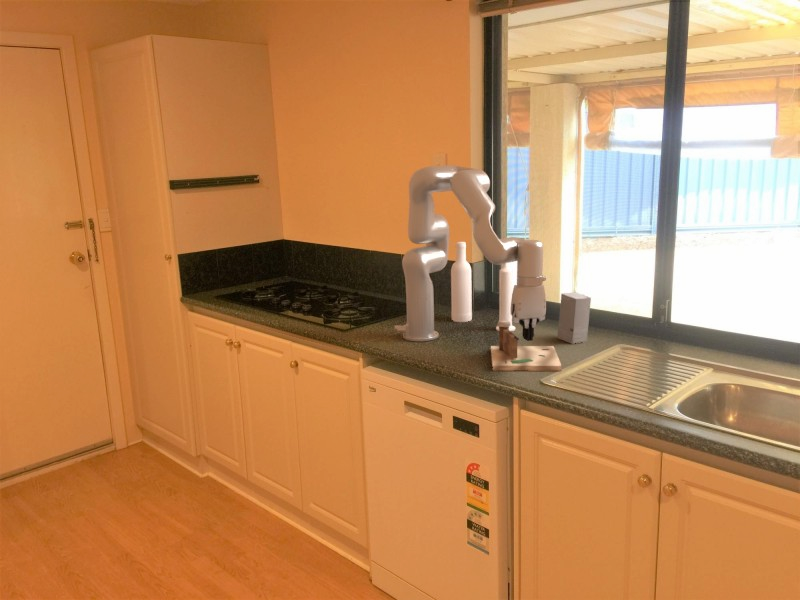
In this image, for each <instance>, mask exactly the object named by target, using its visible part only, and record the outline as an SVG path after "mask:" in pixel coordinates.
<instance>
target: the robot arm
mask: <svg viewBox="0 0 800 600" xmlns="http://www.w3.org/2000/svg"><path fill="white" fill-rule="evenodd" d="M490 187H491V180H490V178H489V176H488V174H487V173H486V172H485V171H483V170H482V169H479V168H471V167H465V166H459V165H453V164H452V165H450V164H449V165H447V164H446V165H432V166H425V167H422V168H419V169H417V170H416V171H414V172H413V174H412V175H411V177H410V179H409V181H408V198H409V204H408V205H409V207H408V222H407V223H408V224H407V234H408V238H409V240H410V241H411V243H413V244H416V245H423V246H418V247H414V248H411V249H409V250H408V251H406V252H405V254H404V255H403V257H402V261H401V265H402V270H403V274H404V281H405V294H406V295H405V296H406V297H405V298H406V302H405V303H406V324H403V325H399V324H398V325H394V331H395V332H397V333H402V337H403V339H404V340H406V341H411V342H429V341H434V340H436V339H438V338H439V336H440V334H439V332H438V330H437V331H436V330H435V312H434V311H435V305H434V303H435V301H434V285H433V281H432V278H431V277H430V274H432V273H435V272H436V273H437V272H440V271H442V270H443V269H444V268H445V267H446V265H447V264H448V260H449V259H448V258H449V246H450V226H449V222H448V220H447V218H446V217H444V216H443V215H441V214H438V213H435V200H434V197H433V195H432V194H434V193H443V192H452V194H453V195H454V196H455V197H456V199H457V201H458V202H459V203H460V204H461V207H462V208H463V209H464V211H465V212H466V214H467V215H468V217H469V218H470V220H471V222H472V223H471V224H472V233H473V234H472V235H473V240H474V242H475V244H476V246H477V247H478V249H479V250H480V252H481V253H482V254H483V256H484V258H485V259H486V260H487V261H488V262H490V263H491V264H493V265H496V266H499V265H505V263H507V264H508V263H513V262H517V263H516V264H517V265H516V284H515V285H513V287H512V299H511V311H510V312H511V315H512V323H515V324H519V325H520V326H521V327H522V338H523V340H525V341H527V342H530V341H533V340H534V336H535V328H536V326H537V324H538V323H539V322H542V321H544V320H545V319H546V314H547V313H546V312H547V298H546V289H545V285H544V284H543V282H544V281H546V280H547V276H546V275H545V276H544V275H543V266H544V263H543V262H544V244H543V242H542V241H541V240H536V239H525V238H520V237H519V236H518V237H517V236H510V237H505V238H499V236H498V235H497V234H496V232H495V231H494V229H493V227H492V225H491V216H492V215H493V214H494V213H495V211H496V205H495V203H494V202H493V200H492V199H491V197H490V196H489V194H488V191H489V190H490ZM424 244H425V246H424Z"/></svg>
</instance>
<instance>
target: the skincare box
mask: <svg viewBox="0 0 800 600" xmlns="http://www.w3.org/2000/svg"><path fill="white" fill-rule="evenodd" d="M560 294H561V295H560V305H559V308H560V309H559V317H558V326H557V327H558V329H557V339H558V340H560V341H564V342H566V343H570V344H571V345H574V344H575V343H576V344H580V343H581V342H583V343H587V342H588V333H589V322H590V311H591V303H592V302H591V301H592V297H590V296H588V295H585V294H582V293H579V292H563V293H560ZM581 344H582V343H581Z"/></svg>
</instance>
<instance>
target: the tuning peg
mask: <svg viewBox="0 0 800 600" xmlns="http://www.w3.org/2000/svg"><path fill="white" fill-rule="evenodd" d="M497 326H499V331H498V346H499V350H503V351H505V352H506V353H507V354H508V355H509V356H510V357H511V358H512V359H515V358H517V346H518V341H519V340H520V338H519V337H518V336H517V335H516V334H514V333H513V331H509V326H510V322H509V321H499V320H498V321H497Z"/></svg>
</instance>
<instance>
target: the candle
mask: <svg viewBox="0 0 800 600" xmlns="http://www.w3.org/2000/svg"><path fill="white" fill-rule="evenodd" d="M498 275H499V279H498V280H499V283H498V284H499V287H498V289H499V294H498V295H499V299H498V303H499V306H498V307H499V320H498V322H499V321H509V322H510V326H509V331H511V332H514V331H516V326H514V325H513V322H512V317H513V316H512V315H511V312H510V311H511V299H512V293H513V269H511V267H509V266H508V263H505V264H503V266H502V268H501V269H499V274H498ZM495 330H496V331H497V332H499V326H498V325H496V327H495Z"/></svg>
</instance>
